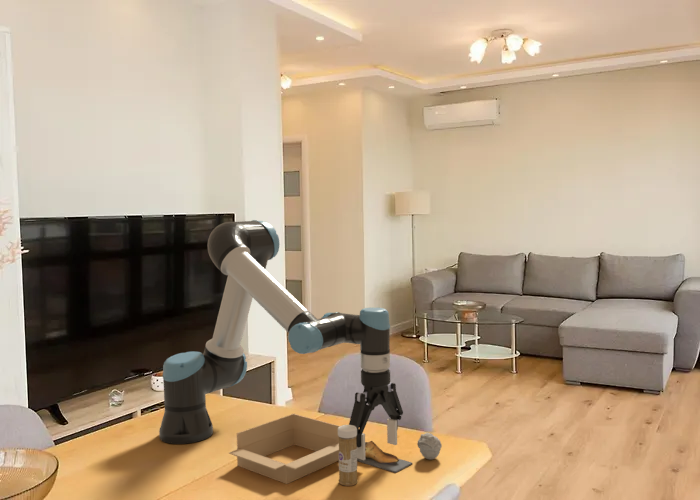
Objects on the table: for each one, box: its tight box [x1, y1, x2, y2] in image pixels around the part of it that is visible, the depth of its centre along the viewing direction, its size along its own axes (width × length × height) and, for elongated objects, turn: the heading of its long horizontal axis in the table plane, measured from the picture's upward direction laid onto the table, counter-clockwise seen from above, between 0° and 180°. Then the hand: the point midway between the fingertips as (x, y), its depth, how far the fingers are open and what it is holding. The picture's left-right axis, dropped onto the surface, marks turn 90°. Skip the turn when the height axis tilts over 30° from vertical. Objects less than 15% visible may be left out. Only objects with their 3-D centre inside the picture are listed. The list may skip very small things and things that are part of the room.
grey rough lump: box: [416, 432, 442, 461], centre depth 172 cm, size 6×7×7 cm
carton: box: [228, 413, 340, 485], centre depth 170 cm, size 21×23×8 cm
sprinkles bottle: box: [338, 424, 359, 487], centre depth 159 cm, size 5×5×14 cm
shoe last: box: [365, 440, 400, 464], centre depth 173 cm, size 4×14×5 cm, turn 55°
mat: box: [357, 458, 413, 474], centre depth 172 cm, size 17×7×1 cm, turn 49°
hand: (376, 451), depth 172 cm, fingers open, 12 cm apart
